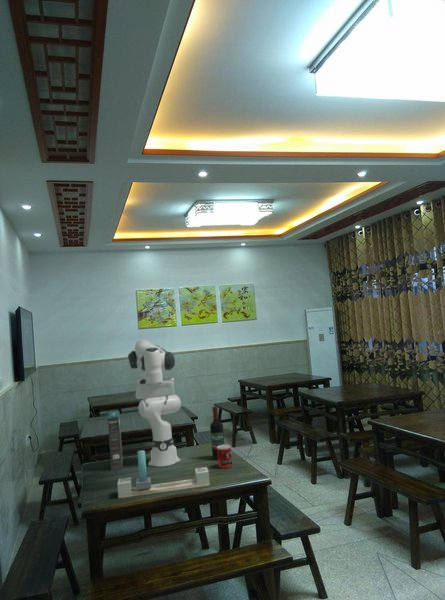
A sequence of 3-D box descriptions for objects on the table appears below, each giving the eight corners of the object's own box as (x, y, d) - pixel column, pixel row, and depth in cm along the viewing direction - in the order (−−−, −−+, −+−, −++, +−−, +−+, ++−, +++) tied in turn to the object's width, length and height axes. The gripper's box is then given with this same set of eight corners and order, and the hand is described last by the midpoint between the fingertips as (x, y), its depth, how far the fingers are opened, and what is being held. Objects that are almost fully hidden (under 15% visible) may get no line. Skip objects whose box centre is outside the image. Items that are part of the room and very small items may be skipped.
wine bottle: (227, 456, 268) (223, 405, 270) (223, 460, 261) (218, 408, 263) (215, 456, 271) (211, 405, 273) (210, 460, 264) (206, 408, 266)
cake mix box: (122, 469, 261) (118, 416, 263) (111, 470, 260) (107, 418, 262) (122, 459, 283) (119, 410, 285) (112, 460, 282) (109, 411, 283)
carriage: (136, 485, 224) (134, 450, 225) (151, 483, 225) (148, 448, 226) (136, 490, 217) (133, 454, 218) (151, 487, 218) (148, 452, 219)
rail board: (119, 492, 223) (118, 477, 223) (207, 480, 230) (206, 465, 230) (118, 498, 215) (117, 483, 216) (209, 485, 222) (208, 470, 222)
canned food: (222, 469, 244) (220, 449, 245) (216, 466, 251) (214, 446, 252) (234, 466, 248) (233, 446, 248) (228, 463, 255) (226, 443, 255)
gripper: (173, 376, 240) (176, 402, 239) (134, 380, 237) (136, 407, 236) (174, 377, 234) (176, 404, 233) (134, 381, 231) (136, 409, 230)
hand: (156, 405), depth 235 cm, fingers open, 8 cm apart
